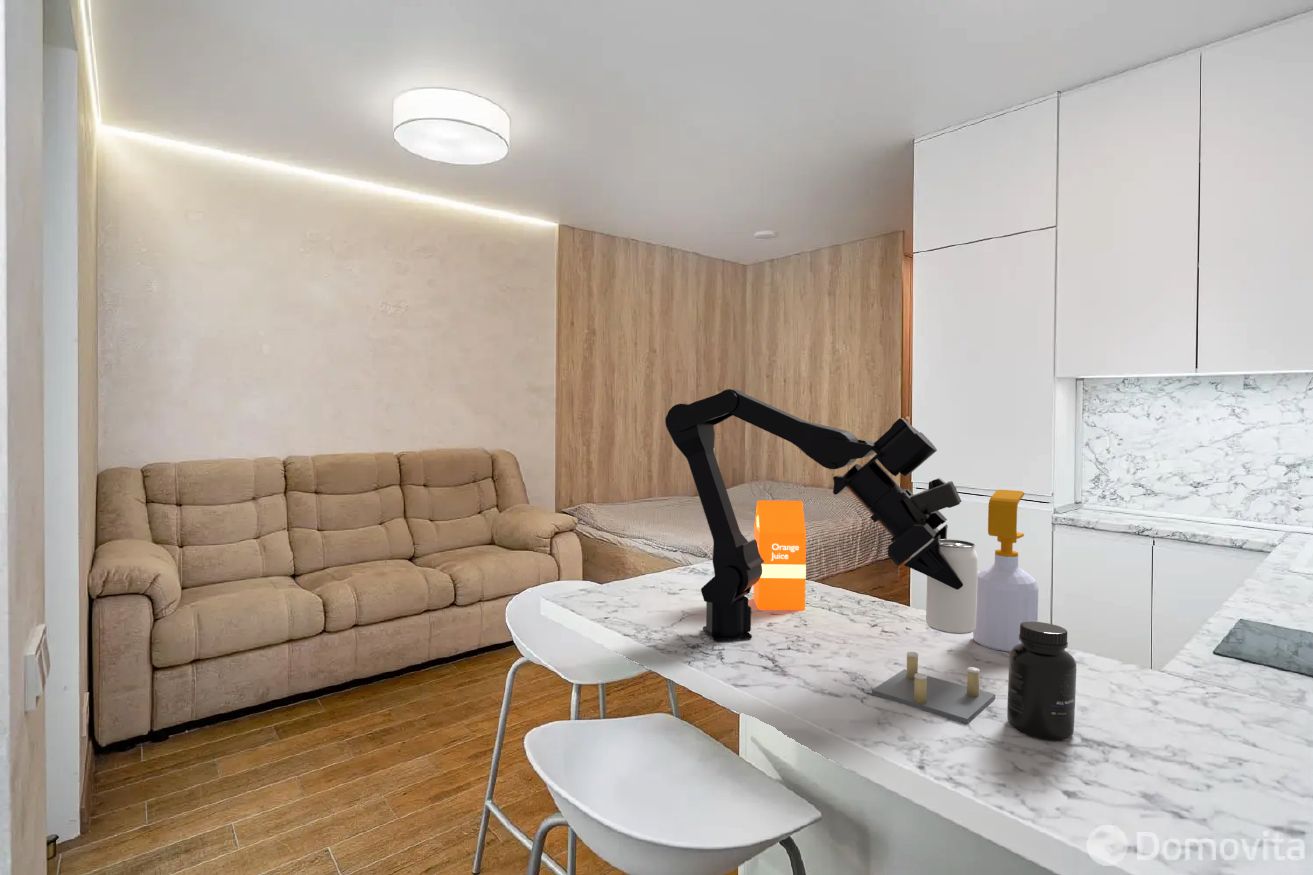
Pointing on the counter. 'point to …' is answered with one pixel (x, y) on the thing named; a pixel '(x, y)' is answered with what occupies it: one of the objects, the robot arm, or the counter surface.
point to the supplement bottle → (1042, 683)
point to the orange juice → (780, 555)
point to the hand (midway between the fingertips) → (962, 582)
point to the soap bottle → (1004, 581)
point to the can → (954, 591)
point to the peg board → (936, 692)
